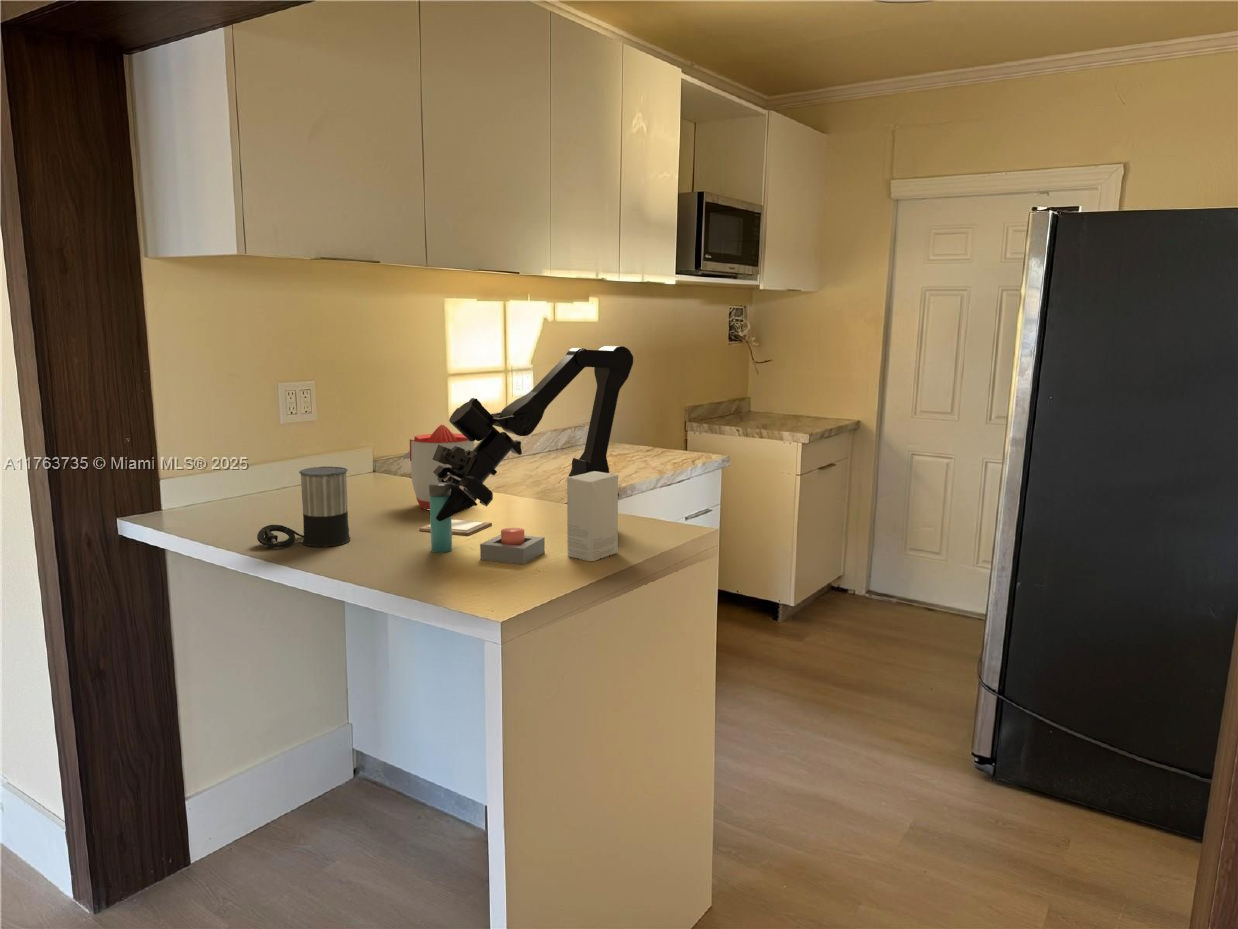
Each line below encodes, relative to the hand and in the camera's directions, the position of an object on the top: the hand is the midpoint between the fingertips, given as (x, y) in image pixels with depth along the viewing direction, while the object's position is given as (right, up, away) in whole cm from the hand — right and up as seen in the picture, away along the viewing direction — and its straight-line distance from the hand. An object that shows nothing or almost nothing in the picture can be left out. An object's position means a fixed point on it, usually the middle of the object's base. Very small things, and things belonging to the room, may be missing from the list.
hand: (433, 517), depth 164 cm
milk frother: (-27, -6, +6) cm, 28 cm away
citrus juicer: (-7, 0, +42) cm, 42 cm away
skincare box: (+31, -7, -2) cm, 32 cm away
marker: (+1, -6, +2) cm, 7 cm away
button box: (+16, -7, -2) cm, 17 cm away
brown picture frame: (+1, -3, +20) cm, 20 cm away
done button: (+16, -5, -3) cm, 17 cm away
